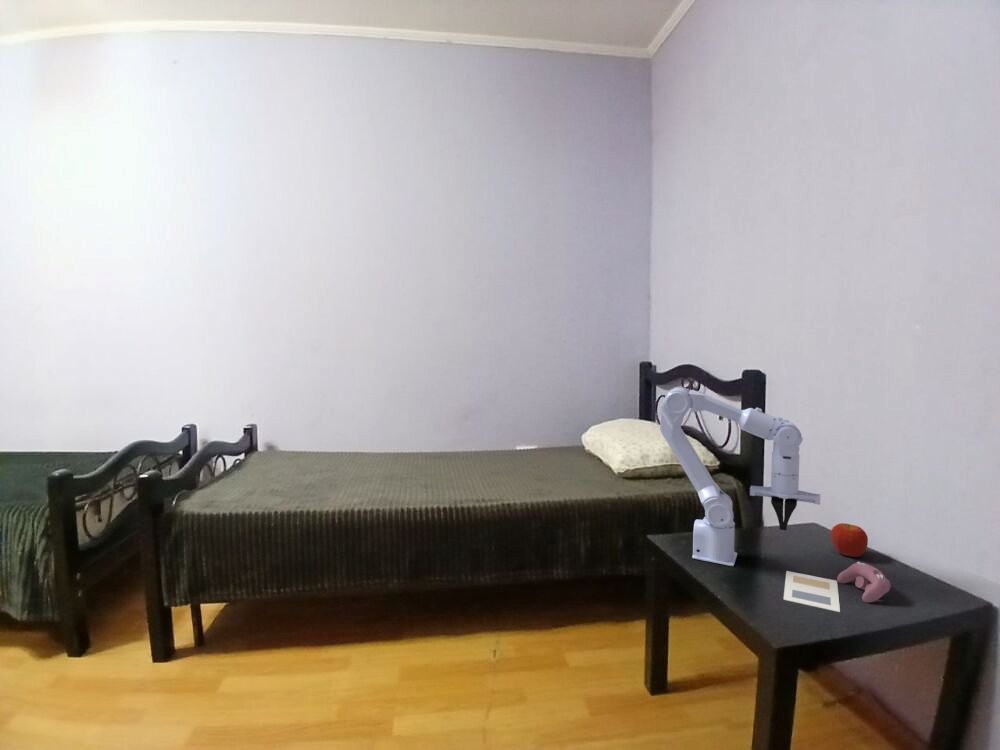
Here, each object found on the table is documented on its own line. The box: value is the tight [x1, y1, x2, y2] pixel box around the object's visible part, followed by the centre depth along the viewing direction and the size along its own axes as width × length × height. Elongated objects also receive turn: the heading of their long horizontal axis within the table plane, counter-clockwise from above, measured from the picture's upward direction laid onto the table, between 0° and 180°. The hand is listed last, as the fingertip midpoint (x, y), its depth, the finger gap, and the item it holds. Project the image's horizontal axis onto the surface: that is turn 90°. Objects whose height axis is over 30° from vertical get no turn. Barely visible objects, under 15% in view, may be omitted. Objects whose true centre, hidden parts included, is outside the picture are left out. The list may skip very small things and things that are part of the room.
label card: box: [783, 570, 841, 613], centre depth 113 cm, size 10×15×1 cm, turn 149°
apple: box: [830, 522, 869, 558], centre depth 131 cm, size 8×8×8 cm
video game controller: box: [836, 561, 892, 604], centre depth 112 cm, size 10×5×7 cm, turn 179°
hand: (783, 528), depth 124 cm, fingers closed
